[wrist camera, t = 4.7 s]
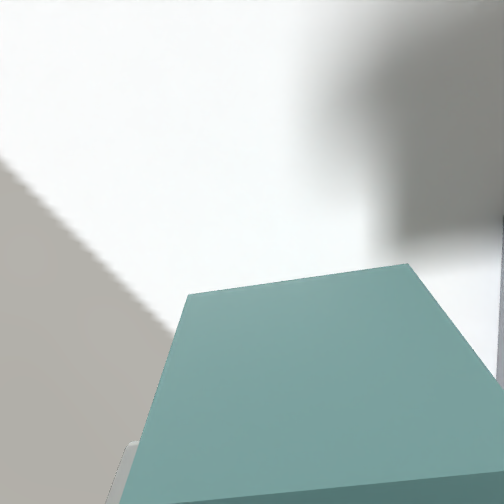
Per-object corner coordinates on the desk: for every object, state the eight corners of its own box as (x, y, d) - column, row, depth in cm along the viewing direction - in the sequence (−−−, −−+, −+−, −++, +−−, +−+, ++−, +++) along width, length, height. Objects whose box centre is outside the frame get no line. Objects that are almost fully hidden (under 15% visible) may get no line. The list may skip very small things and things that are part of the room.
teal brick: (188, 294, 9) (117, 508, 5) (407, 263, 9) (560, 464, 4) (237, 482, 12) (221, 749, 7) (413, 465, 11) (518, 735, 7)
